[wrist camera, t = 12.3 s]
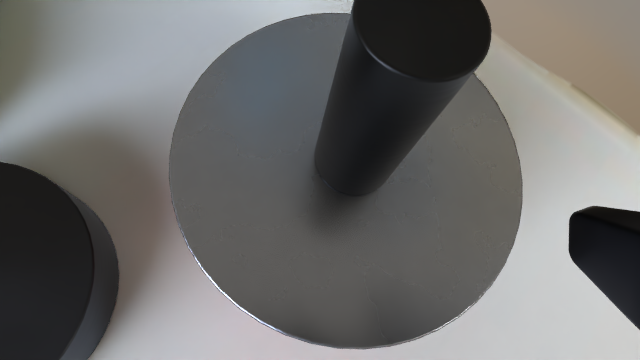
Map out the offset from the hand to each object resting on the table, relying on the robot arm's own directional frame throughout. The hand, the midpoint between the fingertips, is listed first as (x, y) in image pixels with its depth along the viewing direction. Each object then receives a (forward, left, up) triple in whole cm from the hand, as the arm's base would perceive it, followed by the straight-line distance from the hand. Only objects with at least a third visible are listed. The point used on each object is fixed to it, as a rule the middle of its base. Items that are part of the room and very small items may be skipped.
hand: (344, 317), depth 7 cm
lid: (+4, -4, -7) cm, 9 cm away
